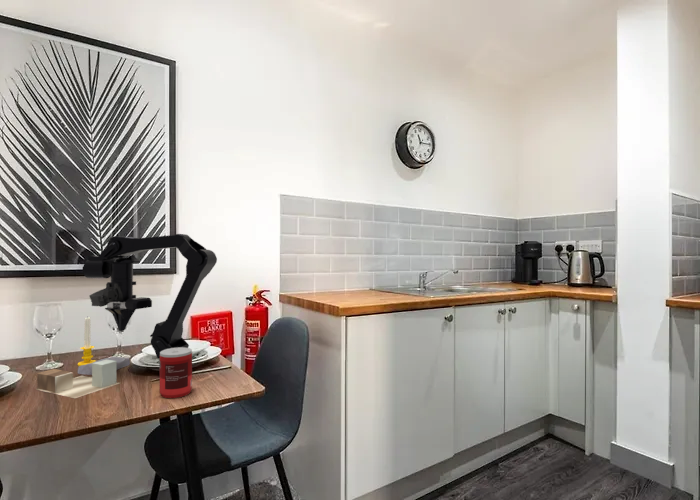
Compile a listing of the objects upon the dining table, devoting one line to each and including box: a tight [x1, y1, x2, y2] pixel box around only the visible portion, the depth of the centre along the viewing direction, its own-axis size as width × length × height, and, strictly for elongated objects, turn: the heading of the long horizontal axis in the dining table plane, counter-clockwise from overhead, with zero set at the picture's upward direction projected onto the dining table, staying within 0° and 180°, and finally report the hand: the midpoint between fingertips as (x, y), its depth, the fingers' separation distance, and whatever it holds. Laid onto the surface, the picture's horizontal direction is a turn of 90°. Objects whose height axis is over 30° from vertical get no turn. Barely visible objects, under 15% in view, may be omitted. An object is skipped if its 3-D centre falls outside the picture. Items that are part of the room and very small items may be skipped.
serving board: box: [35, 375, 121, 399], centre depth 104 cm, size 16×12×1 cm
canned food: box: [159, 347, 193, 399], centre depth 101 cm, size 8×8×11 cm
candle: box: [77, 316, 97, 367], centre depth 126 cm, size 5×5×16 cm
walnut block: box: [36, 368, 74, 393], centre depth 102 cm, size 4×4×8 cm
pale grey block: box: [91, 359, 117, 388], centre depth 105 cm, size 4×4×6 cm
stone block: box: [77, 356, 131, 376], centre depth 119 cm, size 12×5×10 cm
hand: (121, 330), depth 116 cm, fingers closed
